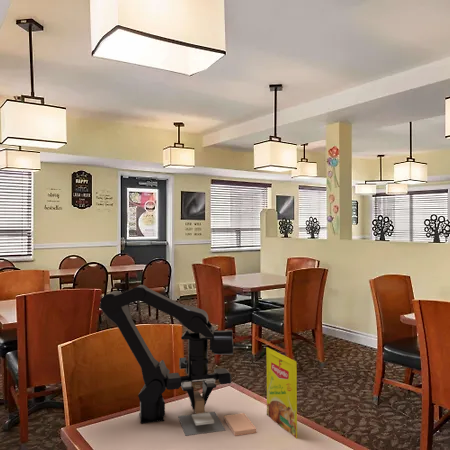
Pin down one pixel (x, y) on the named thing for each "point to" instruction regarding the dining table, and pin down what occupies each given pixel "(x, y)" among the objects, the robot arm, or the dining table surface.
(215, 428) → the mat
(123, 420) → the dining table surface
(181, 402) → the dining table surface
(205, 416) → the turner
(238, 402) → the dining table surface
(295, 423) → the food package
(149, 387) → the robot arm
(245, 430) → the tile
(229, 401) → the dining table surface
